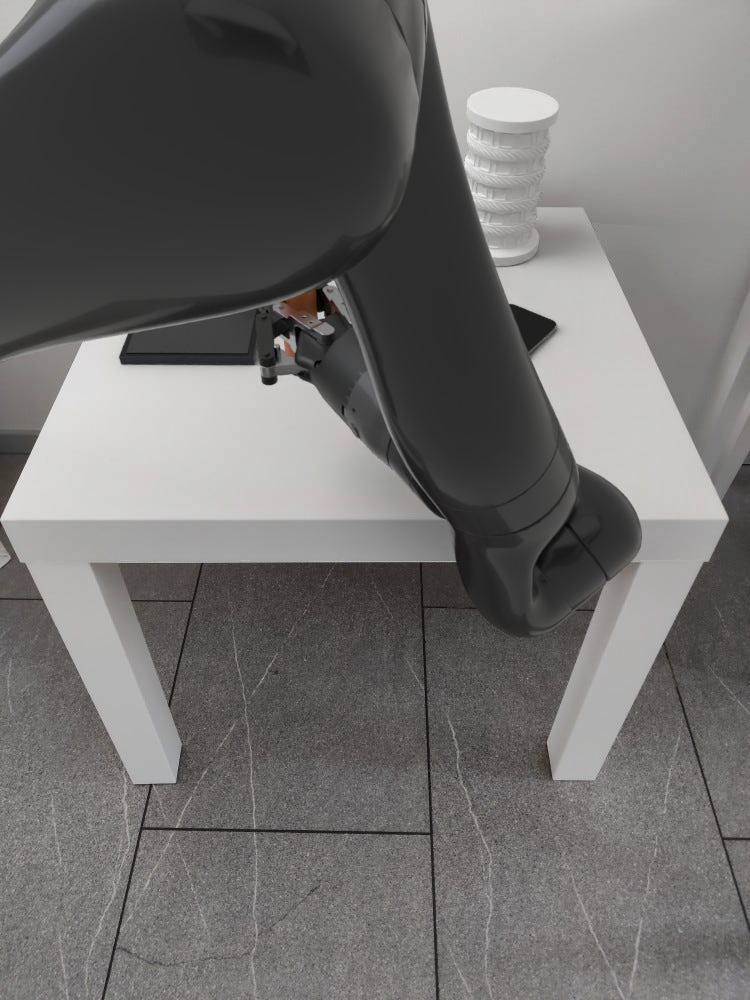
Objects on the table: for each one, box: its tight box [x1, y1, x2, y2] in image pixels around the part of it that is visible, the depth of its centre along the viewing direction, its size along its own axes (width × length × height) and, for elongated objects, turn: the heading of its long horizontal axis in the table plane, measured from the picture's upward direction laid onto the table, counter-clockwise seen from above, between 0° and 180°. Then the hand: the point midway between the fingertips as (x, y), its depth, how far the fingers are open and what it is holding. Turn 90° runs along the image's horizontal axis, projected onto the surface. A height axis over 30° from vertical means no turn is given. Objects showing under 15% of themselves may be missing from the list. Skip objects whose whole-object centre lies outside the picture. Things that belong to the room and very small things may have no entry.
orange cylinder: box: [283, 289, 319, 378], centre depth 63 cm, size 3×3×11 cm
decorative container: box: [463, 86, 560, 267], centre depth 97 cm, size 12×12×18 cm
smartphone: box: [509, 303, 557, 355], centre depth 88 cm, size 7×1×15 cm
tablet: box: [118, 308, 261, 366], centre depth 92 cm, size 15×19×1 cm
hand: (281, 286), depth 64 cm, fingers closed on orange cylinder, 3 cm apart
